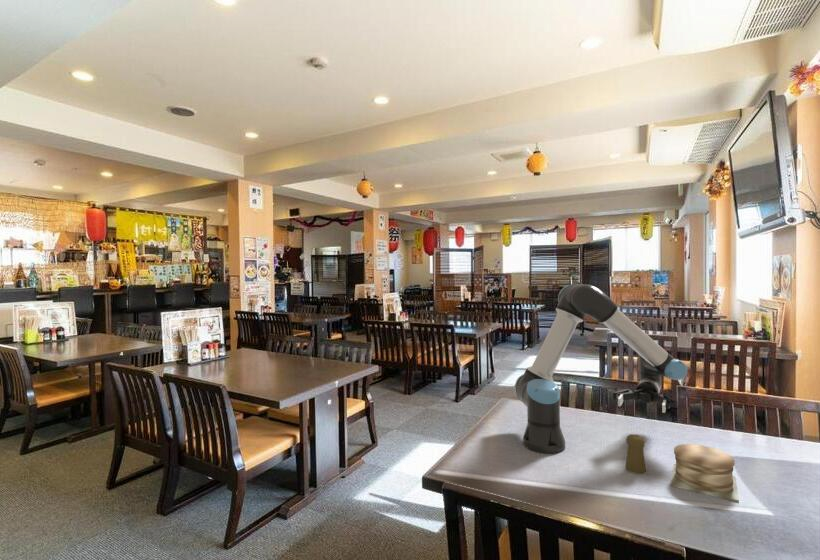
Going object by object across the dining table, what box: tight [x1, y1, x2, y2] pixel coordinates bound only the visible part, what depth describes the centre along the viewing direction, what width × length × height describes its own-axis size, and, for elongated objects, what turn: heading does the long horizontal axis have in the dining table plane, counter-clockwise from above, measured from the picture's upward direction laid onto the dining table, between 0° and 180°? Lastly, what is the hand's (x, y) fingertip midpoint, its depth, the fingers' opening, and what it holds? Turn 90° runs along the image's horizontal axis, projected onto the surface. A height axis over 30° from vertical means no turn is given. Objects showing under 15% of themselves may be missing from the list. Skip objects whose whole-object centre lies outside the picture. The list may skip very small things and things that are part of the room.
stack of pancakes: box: [670, 443, 740, 503], centre depth 125 cm, size 16×16×9 cm
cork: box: [625, 434, 647, 475], centre depth 134 cm, size 6×6×11 cm
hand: (640, 405), depth 143 cm, fingers open, 13 cm apart
